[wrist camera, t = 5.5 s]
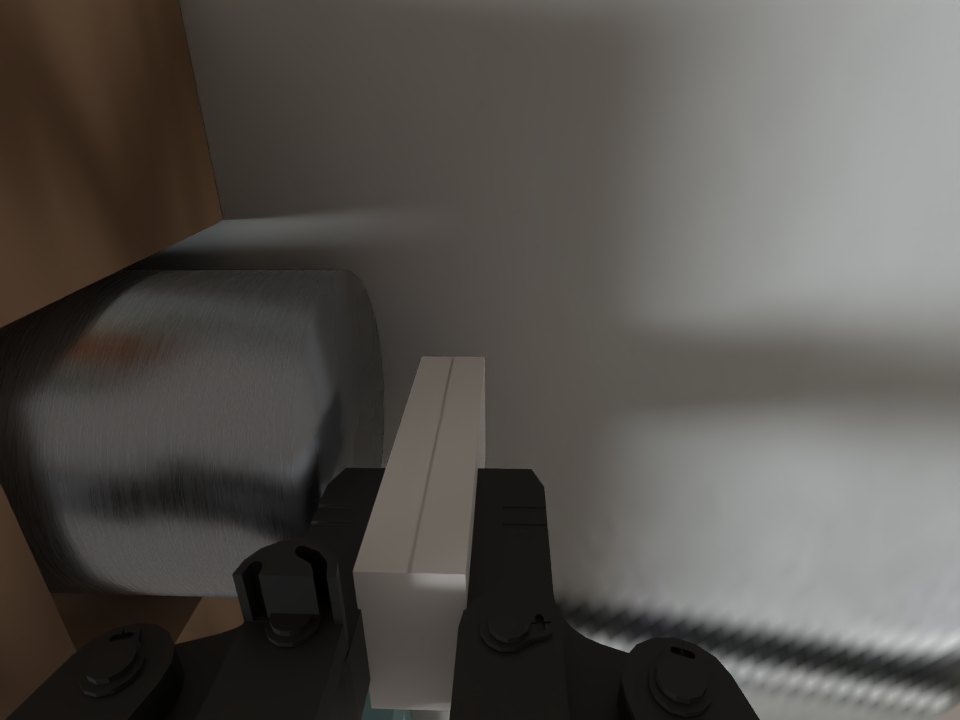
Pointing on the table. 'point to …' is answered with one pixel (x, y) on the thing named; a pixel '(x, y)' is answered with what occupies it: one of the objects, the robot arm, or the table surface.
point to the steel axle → (183, 422)
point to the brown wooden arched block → (91, 250)
